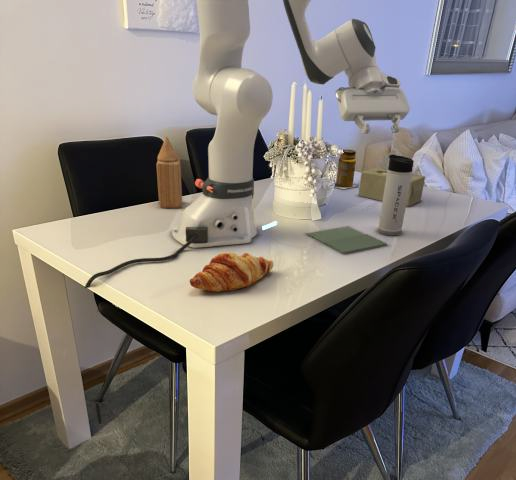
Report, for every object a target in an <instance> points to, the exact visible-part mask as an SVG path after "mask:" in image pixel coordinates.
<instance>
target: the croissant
mask: <svg viewBox="0 0 516 480" xmlns="http://www.w3.org/2000/svg"><path fill="white" fill-rule="evenodd" d="M273 267H274V261H273V260H271V259H270V260H268V259H267V258H265V257H264V256H259V257H257V256H253V255H252V254H250V253H248V252H244V253H243V254H241V255H238V254H237V253H235V252H223V253H219V254H217V255H216V256H213V257H212V258H211V260H210V261H209V263H208V264H206V265H205V266H204V267H203V268H202V270H201V271H199V272H198V273H196V274H195V275H194V276H193V278H190V279H189V284H190V286H191V287H193V288H194V289H198V290H206V291H209V292H216V293H220V292H224V291H235V290H238V289H242V288H247V287H249V286H251V285H253V284H254V283H256V282H257V281H258V280H260V279H262V278H263V277H264V276H265V275H266V274H268V273H270V272H271V271H272V269H273Z"/></svg>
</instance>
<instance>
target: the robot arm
mask: <svg viewBox="0 0 516 480" xmlns="http://www.w3.org/2000/svg"><path fill="white" fill-rule="evenodd" d="M311 1H312V0H282V3H283V7H284V10H285V13H286V16H287V20H288V22H289V25H290V28H291V31H292V34H293V37H294V41H295V43H296V46H297V49H298V52H299V55H300V58H301V63H302V67H303V68H302V69H303V71H304V74H305V76H306V77H307V79H308V80H309V82H311V83H313V84H317V85H325V84H327V83H328V82H329V81H330V80H332V79H333V78H334V77H336V76H337V75H339V74H340V73H342V72H344V74H345V75H346V76H347V81H348V86H347V87H345V86H340V87H339V88H338V89H336V90H335V97H336V100H337V106H338V111H339V112H338V113H339V116H340V119H342V120H343V121H344V122H354V124H355V125H356V126H357V127H358V128H359V129H360V131H361V134H362V135H368V134H369V133H370V131H371V127H370V124H367V123H366V122H369V121H375V122H376V121H390V122H391V123H392V124H393V125H392V126H391V127H390V130H391V133H392V134H398V133H399V132H400V131H401V126H400V121H403V120H404V119H405V118H406V117H407V115H408V114H409V112H410V107H411V106H410V105H409V102H408V99H407V98H408V97H407V95H406V93H405V92H404V90H403V89H402V88H400V86H401V81H400V79H399V78H397V77H393V76H390V75H388V74H386V73H384V72H382V71H381V69H380V67H379V66H378V65H377V57H376V49H377V48H376V45H375V42H374V38H373V36H372V33H371V31H370V30H371V29H370V28H369V26H368V24H367V23H366V22H364V21H362V20H361V19H356V18H351V19H350V20H348V21H346V22H344V23H342V24H341V25H340V26H338V27H337V28H335V29H334V30H333V31H330V32H329V33H327V34H326V35H325V36H323V37H322V38H319V39H318V40H314V39H313V37H312V35H311V31H310V29H309V25H308V22H307V19H306V15H305V14H306V10H307V8H308V6H309V4H310V2H311ZM195 2H196V10H197V11H196V12H197V19H198V29H199V53H198V54H199V55H198V65H197V73H196V75H195V77H194V79H193V83H192V94H193V98H194V100H195V101H196V103H197V104H198V105H199V106H200V107H201V108H202V109H203V110H204V111H206V113H208V114H210V115H212V116H217V121H216V126H215V127H216V128H215V132H214V135H213V137H212V140H210V142H209V144H208V147H207V156H208V177H207V179H206V180H202V179H201V178H197V179H196V180H195V182H194V184H195V186H196V187H197V188H198V189H202V193H201V194H200V195H199V196H198V197H196V199H194V200H193V201H192V202H191V203H190V204H189V205H188V206H186V208H184V209H183V211H182V212H181V217H180V226H177V227H174V228H173V229H172V232H171V233H172V237H173V238H174V240H176V241H177V242H178V243H179V244H181V245H182V246H181V247H180V248H178V249H177V250H176V251H175V252H174V253H173V254H170V255H167V256H161V257H144V258H143V257H142V258H133V259H131V260H127V261H124V262H121V263H120V264H117V265H116V266H114V267H111V269H108V270H104V271H100V272H96V273H95V274H93V275H92V276H91V277H90V278H89V279H88V280H87V282H86V283H85V284H84V289H88V288H90V287H91V285H92V283H93V282H94V281H95V280H96V279H98V278H99V277H103V276H108V275H110V274H112V273H114V272H116V271H118V270H120V269H122V268H123V267H126V266H129V265H132V264H138V263H150V262H154V263H155V262H164V261H168V260H169V261H170V260H172V259H174V258H176V257H178V255H180V253H182V252H183V251H184V250H185V249H186V248H188V247H190V248H195V249H197V248H208V247H219V246H232V245H241V244H250V243H251V241H252V239H253V238H254V237H256V235H257V234H258V230H257V229H258V228H257V225H256V221H255V214H254V203H253V200H254V194H255V179H254V178H253V171H254V170H253V168H254V149H255V142H256V139H257V135H258V132H259V128H260V125H261V123H262V121H263V119H264V118H265V117H266V116H267V115H268V114H269V112H270V110H271V108H272V104H273V97H274V94H273V89H272V86H271V83H270V82H269V81H268V79H267V78H266V77H264V76H263V75H262V74H260V73H259V72H257V71H255V70H253V69H250V68H245V67H242V63H243V54H244V53H243V52H244V49H245V45H246V43H247V41H248V39H249V37H250V34H251V22H250V21H251V20H250V7H249V0H195ZM365 121H366V122H365ZM277 225H278V221H276V220H275V221H272V222H270V223H268V224H265V225H262V226H261V227H262V228H261V229H262V231H264V230H267V229H269V228H272V227H275V226H277ZM94 405H95V412H96V417H97V424H99V425H101V424H102V423H103V421H102V415H101V409H100V404H99V402H97V403H94Z"/></svg>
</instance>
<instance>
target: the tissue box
mask: <svg viewBox="0 0 516 480" xmlns="http://www.w3.org/2000/svg"><path fill="white" fill-rule="evenodd" d="M392 154H394V155H397V156H403V157H407V158H408V155H406V154H402V155H401V154H400V153H399V150H398V149H396V148H395V149H393V150H391V151H390V152H389V153H388V154H383V155H381V156H380V157H379V158H378V159H376V161H377V164H378V165H379V166H380V167H377V166H376V167H375V166H374V167H372V168H369V169H365V170H362V171H361V172H360V180H359V186H358V197H360V198H361V197H362V198H366V199H370V200H374V201H379V202H383V196H384V189H385V183H386V177H387V172H388V166H389V160H390V158H389V155H392ZM411 174H412V176H411V181H410V187H409V192H408V198H407V203H406V207H407V208H409V207H411V206H413V205H415V204H417V203H419V202H421V200H422V196H423V195H422V194H423V191H424V186H425V180H426V176H425V175H420V174H415V173H414V174H413V173H411Z"/></svg>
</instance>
